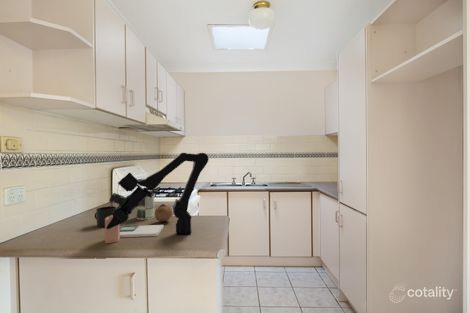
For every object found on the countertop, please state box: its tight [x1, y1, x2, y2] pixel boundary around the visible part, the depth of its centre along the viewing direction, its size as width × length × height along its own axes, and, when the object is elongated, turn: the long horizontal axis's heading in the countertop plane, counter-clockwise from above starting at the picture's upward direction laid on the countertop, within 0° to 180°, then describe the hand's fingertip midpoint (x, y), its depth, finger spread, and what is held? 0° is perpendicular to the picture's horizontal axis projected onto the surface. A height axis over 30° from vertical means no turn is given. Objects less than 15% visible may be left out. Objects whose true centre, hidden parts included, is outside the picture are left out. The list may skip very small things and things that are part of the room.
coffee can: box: [135, 192, 155, 221], centre depth 152 cm, size 10×10×14 cm
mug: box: [94, 205, 117, 228], centre depth 138 cm, size 9×12×9 cm
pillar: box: [104, 215, 121, 244], centre depth 112 cm, size 5×5×11 cm
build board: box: [120, 224, 164, 238], centre depth 124 cm, size 20×14×2 cm
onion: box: [154, 203, 173, 223], centre depth 141 cm, size 10×9×10 cm
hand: (109, 225), depth 112 cm, fingers open, 9 cm apart
